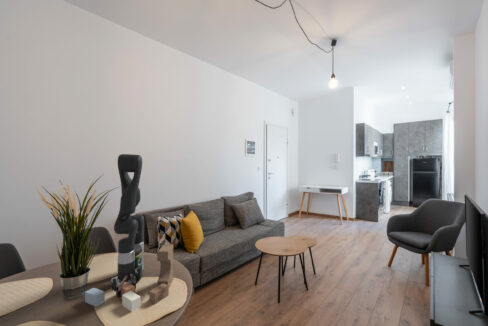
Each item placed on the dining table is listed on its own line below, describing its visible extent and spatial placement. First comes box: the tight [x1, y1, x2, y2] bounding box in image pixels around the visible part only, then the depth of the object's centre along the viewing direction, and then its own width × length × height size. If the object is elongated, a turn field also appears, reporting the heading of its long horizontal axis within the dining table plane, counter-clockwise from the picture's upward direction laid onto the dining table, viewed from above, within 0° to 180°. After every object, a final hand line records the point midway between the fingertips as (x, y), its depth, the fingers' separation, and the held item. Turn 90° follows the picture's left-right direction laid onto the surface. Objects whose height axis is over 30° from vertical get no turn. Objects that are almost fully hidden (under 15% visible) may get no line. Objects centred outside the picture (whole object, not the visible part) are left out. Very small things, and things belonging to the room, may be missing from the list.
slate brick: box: [84, 287, 106, 307], centre depth 107 cm, size 8×4×5 cm, turn 66°
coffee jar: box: [126, 245, 143, 284], centre depth 126 cm, size 10×8×19 cm
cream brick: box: [121, 291, 142, 313], centre depth 104 cm, size 8×4×5 cm, turn 56°
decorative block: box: [156, 243, 174, 288], centre depth 122 cm, size 11×6×20 cm, turn 2°
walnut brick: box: [148, 283, 170, 305], centre depth 110 cm, size 8×4×5 cm, turn 152°
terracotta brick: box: [121, 282, 136, 298], centre depth 112 cm, size 8×4×5 cm, turn 58°
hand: (126, 293), depth 112 cm, fingers open, 6 cm apart
